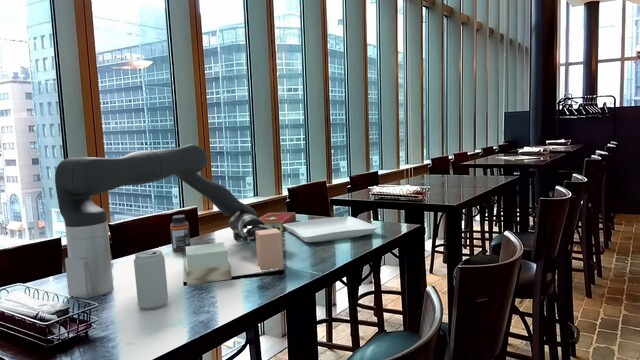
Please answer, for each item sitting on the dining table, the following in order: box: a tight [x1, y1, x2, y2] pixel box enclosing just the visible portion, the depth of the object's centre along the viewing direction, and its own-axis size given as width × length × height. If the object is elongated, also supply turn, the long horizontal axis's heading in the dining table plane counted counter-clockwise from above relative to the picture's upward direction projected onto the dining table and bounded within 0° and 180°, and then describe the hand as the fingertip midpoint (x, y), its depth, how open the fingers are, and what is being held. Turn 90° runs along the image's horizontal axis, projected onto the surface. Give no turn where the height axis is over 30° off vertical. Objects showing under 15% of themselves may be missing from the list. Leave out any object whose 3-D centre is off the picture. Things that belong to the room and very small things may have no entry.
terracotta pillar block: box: [255, 229, 285, 272], centre depth 132 cm, size 6×6×10 cm
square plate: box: [283, 215, 379, 243], centre depth 172 cm, size 27×27×4 cm
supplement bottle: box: [169, 214, 191, 252], centre depth 159 cm, size 6×6×11 cm
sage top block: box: [185, 242, 229, 271], centre depth 127 cm, size 10×10×4 cm
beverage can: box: [133, 249, 169, 310], centre depth 106 cm, size 6×6×12 cm
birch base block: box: [183, 260, 233, 286], centre depth 127 cm, size 11×11×4 cm
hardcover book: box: [258, 212, 297, 232], centre depth 192 cm, size 12×21×4 cm, turn 169°
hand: (261, 236), depth 142 cm, fingers open, 8 cm apart
